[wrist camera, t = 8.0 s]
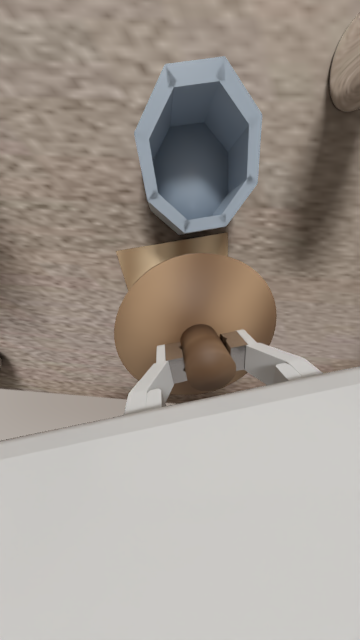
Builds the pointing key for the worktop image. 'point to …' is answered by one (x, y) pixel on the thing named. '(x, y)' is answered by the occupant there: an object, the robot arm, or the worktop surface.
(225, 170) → the bowl
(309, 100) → the worktop surface
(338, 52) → the beer glass
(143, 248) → the tan flat square piece
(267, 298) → the lid
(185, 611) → the robot arm
